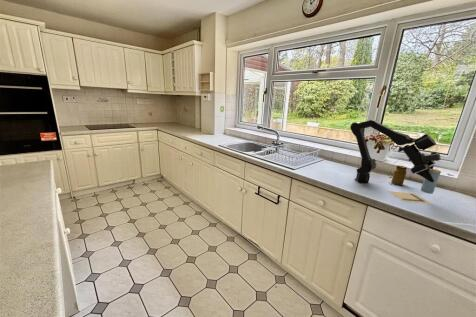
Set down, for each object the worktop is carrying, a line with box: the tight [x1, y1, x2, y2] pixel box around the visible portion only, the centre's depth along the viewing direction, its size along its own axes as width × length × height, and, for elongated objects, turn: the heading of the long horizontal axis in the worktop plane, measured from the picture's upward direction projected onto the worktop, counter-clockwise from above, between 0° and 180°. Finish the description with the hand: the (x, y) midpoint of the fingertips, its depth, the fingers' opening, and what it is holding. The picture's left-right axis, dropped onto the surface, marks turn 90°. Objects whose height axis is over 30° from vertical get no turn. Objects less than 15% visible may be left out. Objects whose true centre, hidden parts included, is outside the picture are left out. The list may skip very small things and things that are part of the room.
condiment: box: [389, 164, 408, 187], centre depth 131 cm, size 7×8×12 cm
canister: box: [420, 168, 442, 195], centre depth 107 cm, size 5×5×12 cm
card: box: [388, 190, 433, 205], centre depth 114 cm, size 15×13×1 cm
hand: (434, 180), depth 106 cm, fingers closed on canister, 5 cm apart
